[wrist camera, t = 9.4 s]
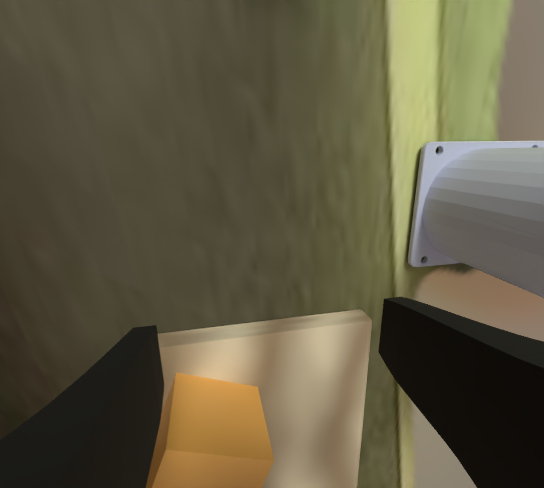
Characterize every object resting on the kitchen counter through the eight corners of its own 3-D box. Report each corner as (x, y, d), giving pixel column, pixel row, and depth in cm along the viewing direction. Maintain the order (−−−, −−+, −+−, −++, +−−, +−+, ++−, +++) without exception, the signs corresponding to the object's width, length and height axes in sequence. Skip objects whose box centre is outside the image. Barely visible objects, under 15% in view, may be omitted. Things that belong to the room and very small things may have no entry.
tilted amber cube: (257, 386, 20) (274, 460, 15) (230, 450, 21) (238, 538, 16) (176, 372, 18) (165, 449, 13) (151, 441, 19) (133, 536, 14)
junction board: (361, 309, 21) (410, 359, 16) (348, 469, 26) (384, 549, 21) (130, 337, 18) (101, 408, 13) (160, 512, 23) (147, 617, 18)
